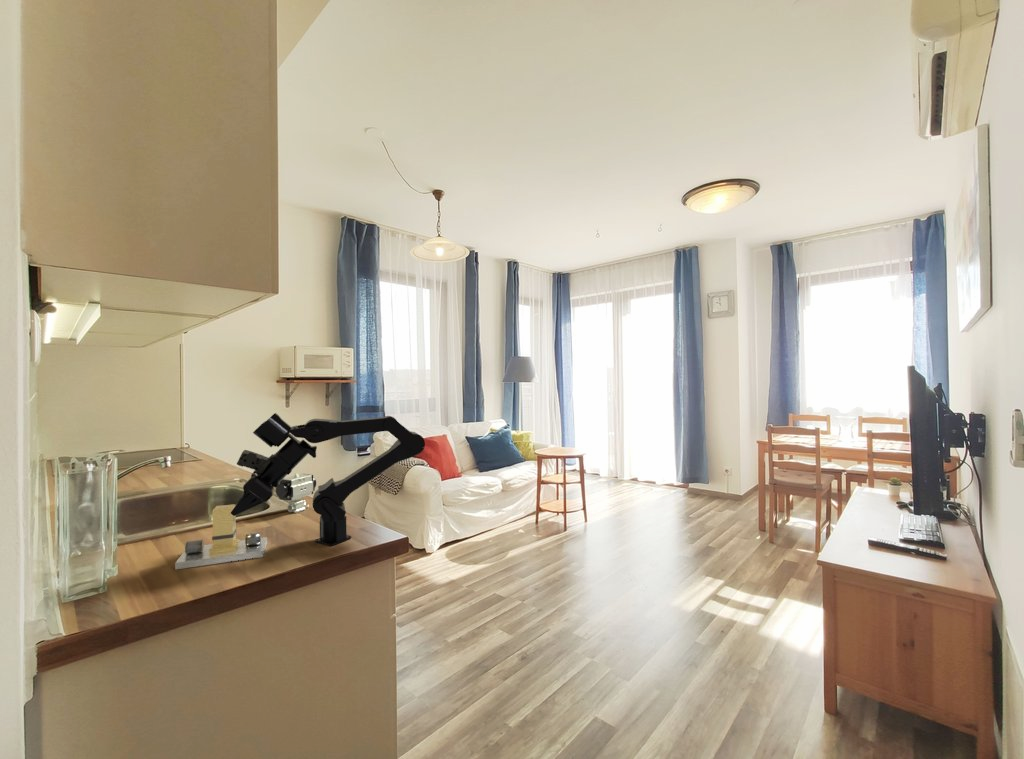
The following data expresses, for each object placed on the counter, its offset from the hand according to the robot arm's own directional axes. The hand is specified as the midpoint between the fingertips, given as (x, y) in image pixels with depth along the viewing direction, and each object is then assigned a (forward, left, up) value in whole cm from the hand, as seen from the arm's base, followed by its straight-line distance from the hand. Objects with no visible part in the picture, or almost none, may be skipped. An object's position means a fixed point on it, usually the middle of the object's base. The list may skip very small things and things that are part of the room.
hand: (235, 509), depth 108 cm
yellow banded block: (+1, +2, -9) cm, 10 cm away
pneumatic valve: (+18, -29, -11) cm, 36 cm away
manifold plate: (+2, +2, -11) cm, 11 cm away
